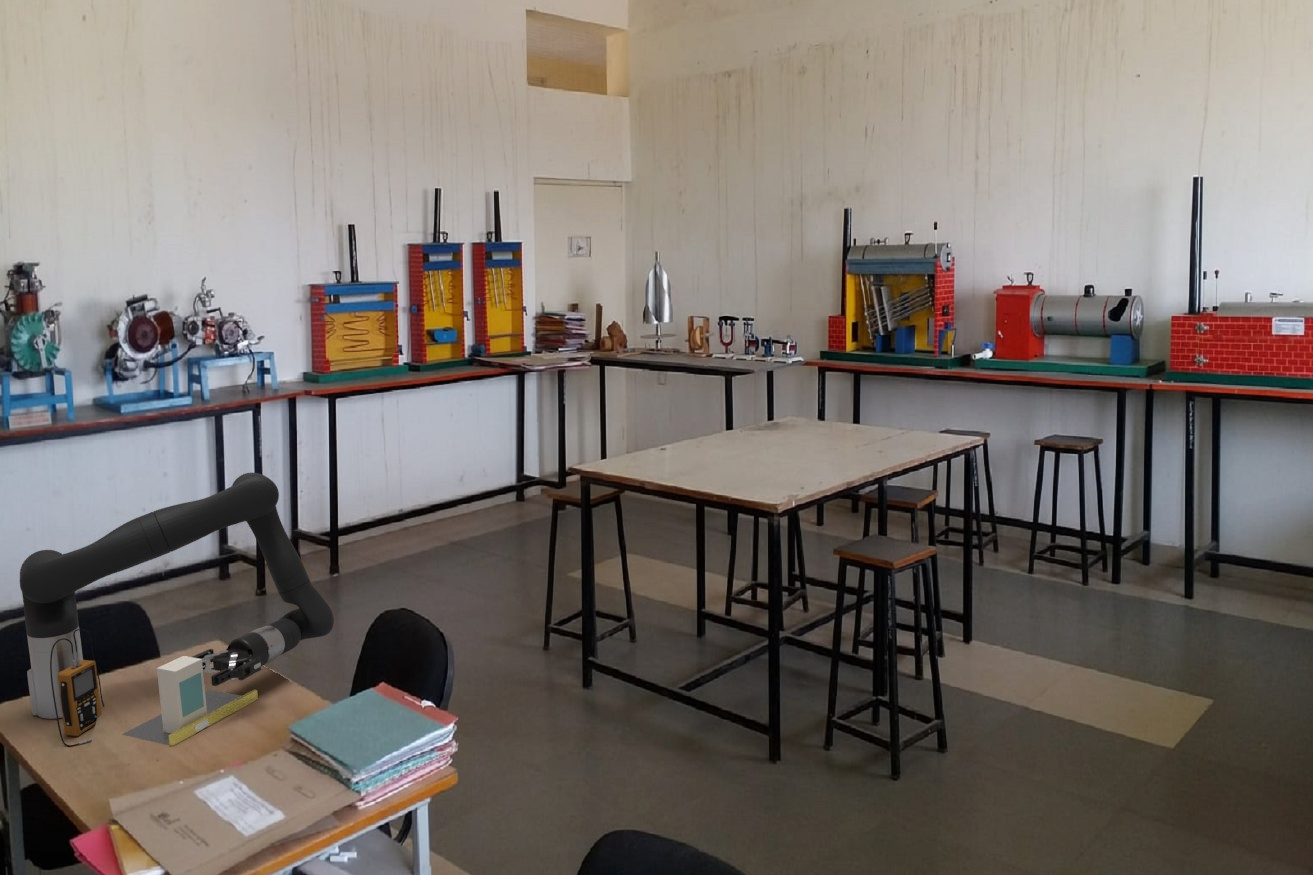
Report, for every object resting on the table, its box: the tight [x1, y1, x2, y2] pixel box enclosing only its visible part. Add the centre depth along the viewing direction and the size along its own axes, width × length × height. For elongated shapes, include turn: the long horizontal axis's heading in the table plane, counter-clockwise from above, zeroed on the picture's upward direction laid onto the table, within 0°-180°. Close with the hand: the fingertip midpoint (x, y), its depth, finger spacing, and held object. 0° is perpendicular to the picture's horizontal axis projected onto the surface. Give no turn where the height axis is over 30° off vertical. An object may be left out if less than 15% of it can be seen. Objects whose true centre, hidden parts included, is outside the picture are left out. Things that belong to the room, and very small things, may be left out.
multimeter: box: [50, 628, 105, 747], centre depth 209 cm, size 15×10×20 cm
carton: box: [156, 655, 207, 733], centre depth 207 cm, size 5×6×13 cm
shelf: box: [122, 689, 259, 747], centre depth 213 cm, size 13×22×4 cm, turn 157°
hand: (196, 678), depth 210 cm, fingers open, 8 cm apart
